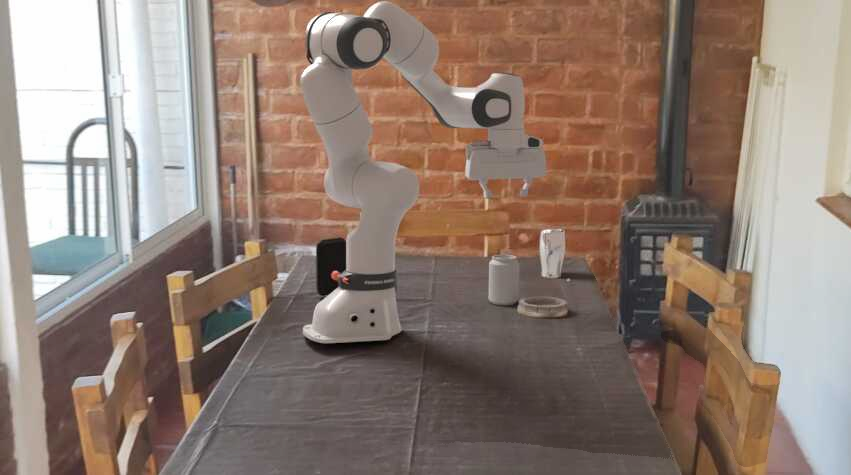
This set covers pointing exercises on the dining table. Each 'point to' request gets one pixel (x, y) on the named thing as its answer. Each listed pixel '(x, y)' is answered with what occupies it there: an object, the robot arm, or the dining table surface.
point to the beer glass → (552, 252)
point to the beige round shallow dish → (542, 307)
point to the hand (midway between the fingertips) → (505, 196)
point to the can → (503, 280)
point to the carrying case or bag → (329, 263)
